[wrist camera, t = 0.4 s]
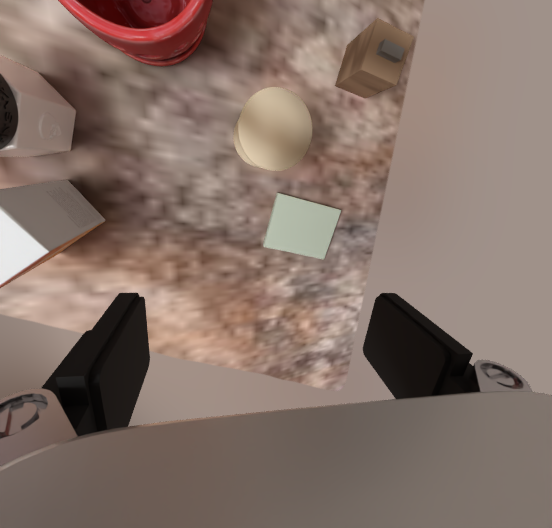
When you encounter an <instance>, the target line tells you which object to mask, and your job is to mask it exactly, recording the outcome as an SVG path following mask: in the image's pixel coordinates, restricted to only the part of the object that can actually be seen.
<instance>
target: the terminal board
mask: <svg viewBox="0 0 552 528" xmlns="http://www.w3.org/2000/svg"><path fill="white" fill-rule="evenodd" d="M340 212H341V210H339V209H336V208H332V207H329V206H325V205H321V204H318V203H314V202H310V201H307V200H303V199H299V198H296V197H292V196H288V195H285V194H281V193H277V194H276V198H275V202H274V206H273V209H272V213H271V217H270V220H269V224H268V228H267V232H266V235H265V239H264V243H263V246H264V247H268V248H272V249H277V250H282V251H286V252H291V253H296V254H301V255H305V256H310V257H315V258H319V259H324V258H325V255H326V252H327V249H328V247H329V244H330V241H331V238H332V235H333V232H334V229H335V227H336V224H337V221H338V218H339V215H340Z"/></svg>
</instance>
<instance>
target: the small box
mask: <svg viewBox="0 0 552 528" xmlns="http://www.w3.org/2000/svg"><path fill="white" fill-rule="evenodd" d="M103 222H105V219H104V218H103V217H102V216H101V215H100V214H99V212H98V211H97V210H96V209H95V208H94V207H93V206H92V205H91V204H90V203H89V202H88V201H87V200H86V199H85V198H84V197H83V195H82V194H81V193H80V192H79V191H78V190H77V189H76V188H75V187H74V186H73V185H72V184H71V183H70V182H69V181H68V180H61V181H54V182H48V183H41V184H33V185H26V186H20V187H13V188H6V189H0V288H1V287H3V286H4V285H6V284H8V283H10V282H11V281H13V280H15V279H16V278H18V277H20V276H21V275H23V274H25V273H27V272H28V271H30V270H32V269H33V268H35V267H37V266H38V265H40V264H42V263H44V262H45V261H47V260H49V259H51V258H52V257H54V256H56V255H57V254H59V253H60V252H62V251H63V250H64V249H65V248H67V247H68V246H70V245H71V244H72V243H74V242H75V241H77V240H78V239H80V238H81V237H83V236H84V235H86V234H87V233H88V232H90V231H91V230H93V229H94V228H96V227H97V226H99V225H100V224H102V223H103Z"/></svg>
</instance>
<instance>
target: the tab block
mask: <svg viewBox="0 0 552 528" xmlns="http://www.w3.org/2000/svg"><path fill="white" fill-rule="evenodd" d="M413 38H414V37H413V36H412V35H410V34H408V33H406V32H404V31H402V30H400V29H398V28H396V27H394V26H392V25H390V24H388V23H386V22H384V21H382V20H380V19H379V18H377V19H376V20H375V21H374V22H373V23H372V24H370V25H369V26H368V27H367V28H366V29H365V30H364V31H363V32H362V33H360V34H359V35H358V36H357V37H356V38H355V39H354V40H353V41H351V42H350V43H349V44H348V45H347V48H346V51H345V55H344V58H343V61H342V65H341V68H340V71H339V75H338V78H337V81H336V85H335V86H336V87H339V88H341V89H344V90H346V91H349V92H351V93H353V94H356V95H358V96H361V97H363V98H367V97H369V96H372V95H374V94H376V93H379V92H381V91H384V90H386V89H388V88H391V87H393V86H396V85H397V82H398V79H399V77H400V74H401V71H402V68H403V66H404V63H405V60H406V57H407V55H408V52H409V49H410V46H411V44H412V41H413Z"/></svg>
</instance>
